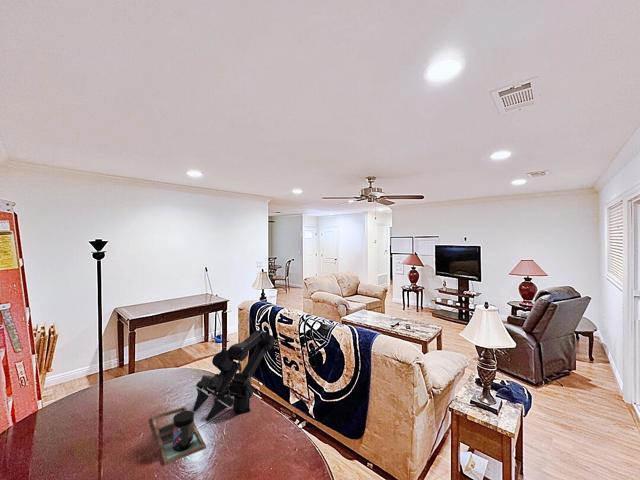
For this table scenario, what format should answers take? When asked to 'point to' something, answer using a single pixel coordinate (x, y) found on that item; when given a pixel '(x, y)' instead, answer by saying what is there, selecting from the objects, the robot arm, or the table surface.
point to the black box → (225, 392)
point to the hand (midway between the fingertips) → (199, 416)
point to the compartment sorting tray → (166, 439)
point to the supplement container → (183, 430)
